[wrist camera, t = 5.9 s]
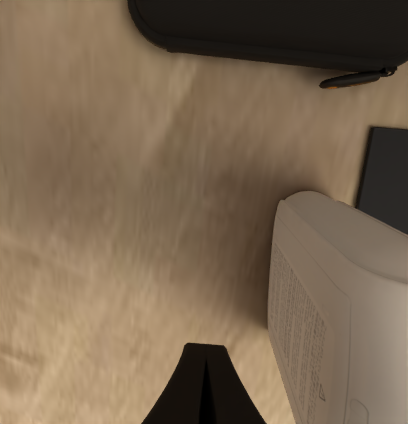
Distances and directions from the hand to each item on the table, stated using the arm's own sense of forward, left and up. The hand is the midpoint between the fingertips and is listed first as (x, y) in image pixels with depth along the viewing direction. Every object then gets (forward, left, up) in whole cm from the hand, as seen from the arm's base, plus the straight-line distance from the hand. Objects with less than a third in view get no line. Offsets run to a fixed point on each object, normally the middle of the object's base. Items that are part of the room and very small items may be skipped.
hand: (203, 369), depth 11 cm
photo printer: (-6, 0, -10) cm, 12 cm away
